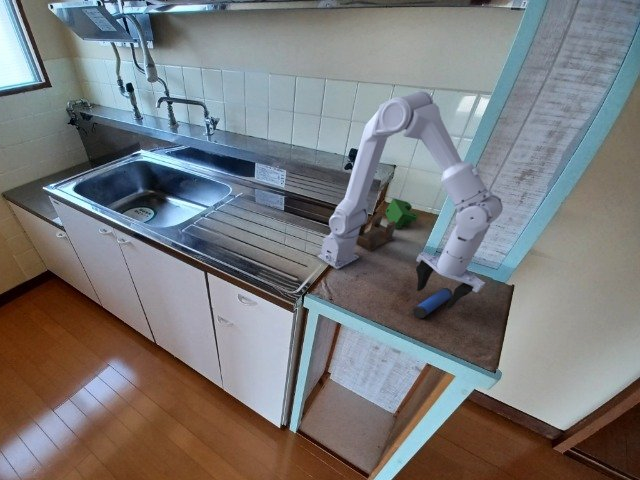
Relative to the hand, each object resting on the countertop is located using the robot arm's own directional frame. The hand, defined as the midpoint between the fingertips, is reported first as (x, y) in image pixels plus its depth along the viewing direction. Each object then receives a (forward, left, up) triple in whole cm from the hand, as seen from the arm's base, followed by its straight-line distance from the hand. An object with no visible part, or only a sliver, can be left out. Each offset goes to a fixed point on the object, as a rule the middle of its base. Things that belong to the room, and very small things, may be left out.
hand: (434, 297), depth 79 cm
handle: (0, 0, -3) cm, 3 cm away
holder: (+13, +28, -3) cm, 31 cm away
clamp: (+30, +30, -3) cm, 43 cm away
